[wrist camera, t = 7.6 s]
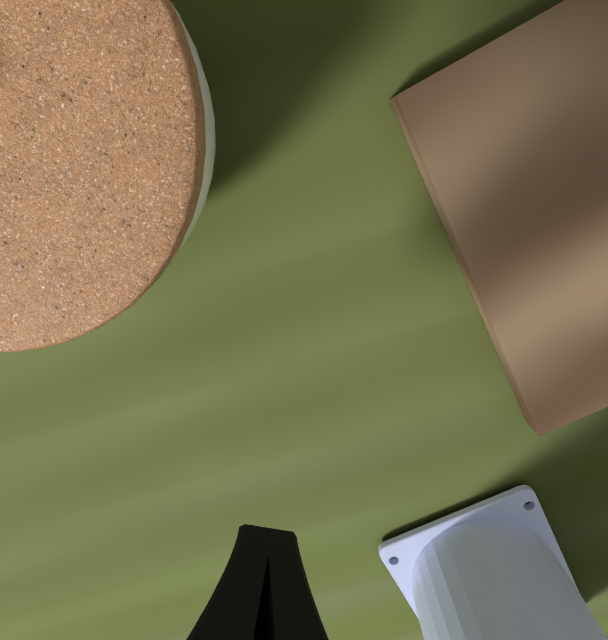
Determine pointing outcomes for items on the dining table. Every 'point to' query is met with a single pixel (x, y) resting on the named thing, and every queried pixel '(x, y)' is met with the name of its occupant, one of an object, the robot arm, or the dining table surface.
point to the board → (528, 199)
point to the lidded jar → (94, 160)
